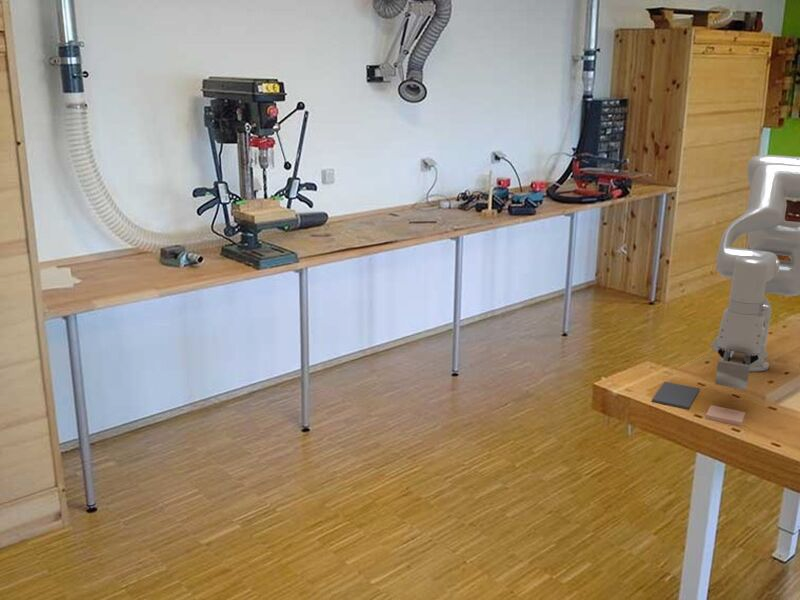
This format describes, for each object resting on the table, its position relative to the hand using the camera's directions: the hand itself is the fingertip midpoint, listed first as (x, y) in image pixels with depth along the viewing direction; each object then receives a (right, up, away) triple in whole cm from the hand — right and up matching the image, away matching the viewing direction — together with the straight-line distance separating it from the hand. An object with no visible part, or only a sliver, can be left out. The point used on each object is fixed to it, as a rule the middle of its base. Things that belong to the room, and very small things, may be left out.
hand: (734, 376), depth 196 cm
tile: (-3, -8, -3) cm, 9 cm away
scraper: (0, 0, 0) cm, 0 cm away
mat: (-12, -6, +7) cm, 15 cm away
